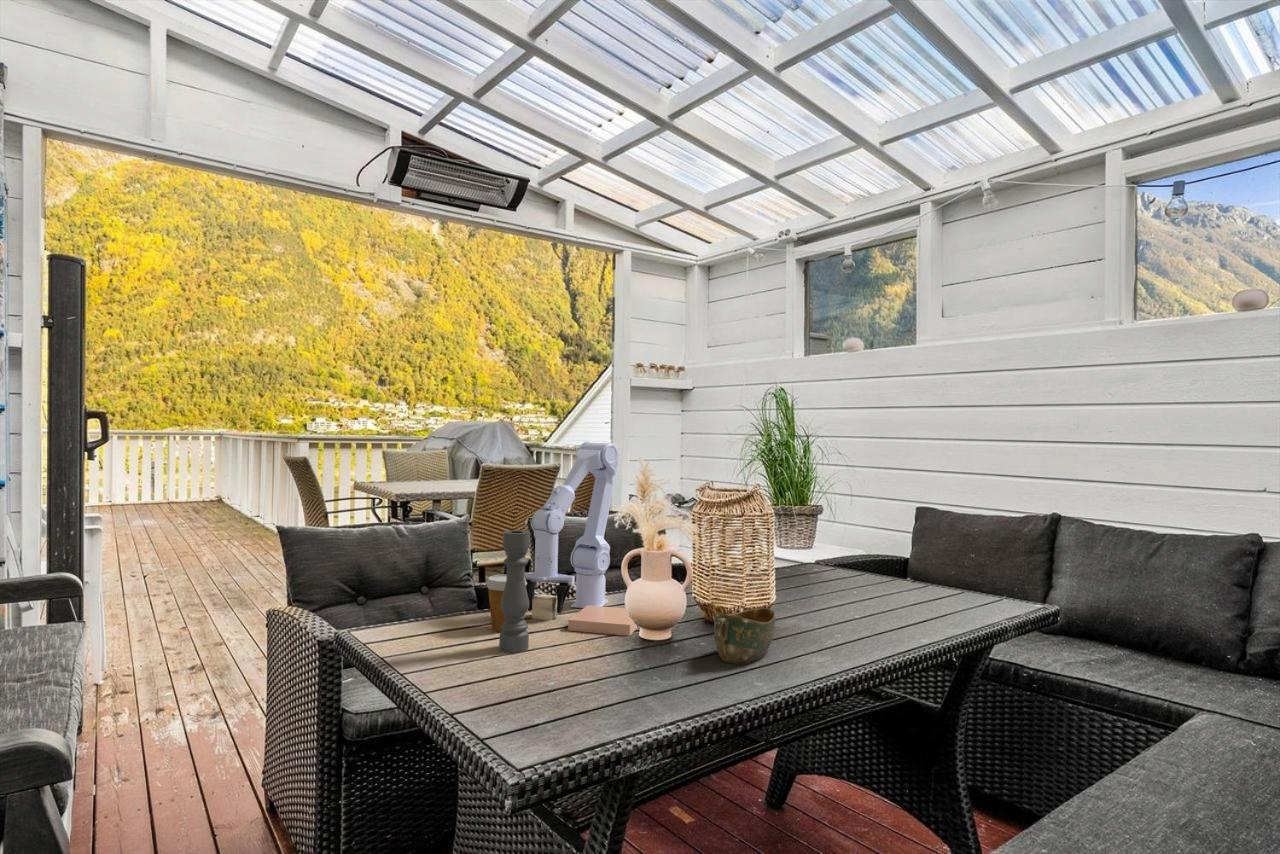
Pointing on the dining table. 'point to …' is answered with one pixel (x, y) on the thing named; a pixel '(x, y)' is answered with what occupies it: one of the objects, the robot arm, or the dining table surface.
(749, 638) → the creamer
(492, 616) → the disposable coffee cup
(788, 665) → the dining table surface
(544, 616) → the birch block
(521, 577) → the candle holder
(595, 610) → the terracotta base
